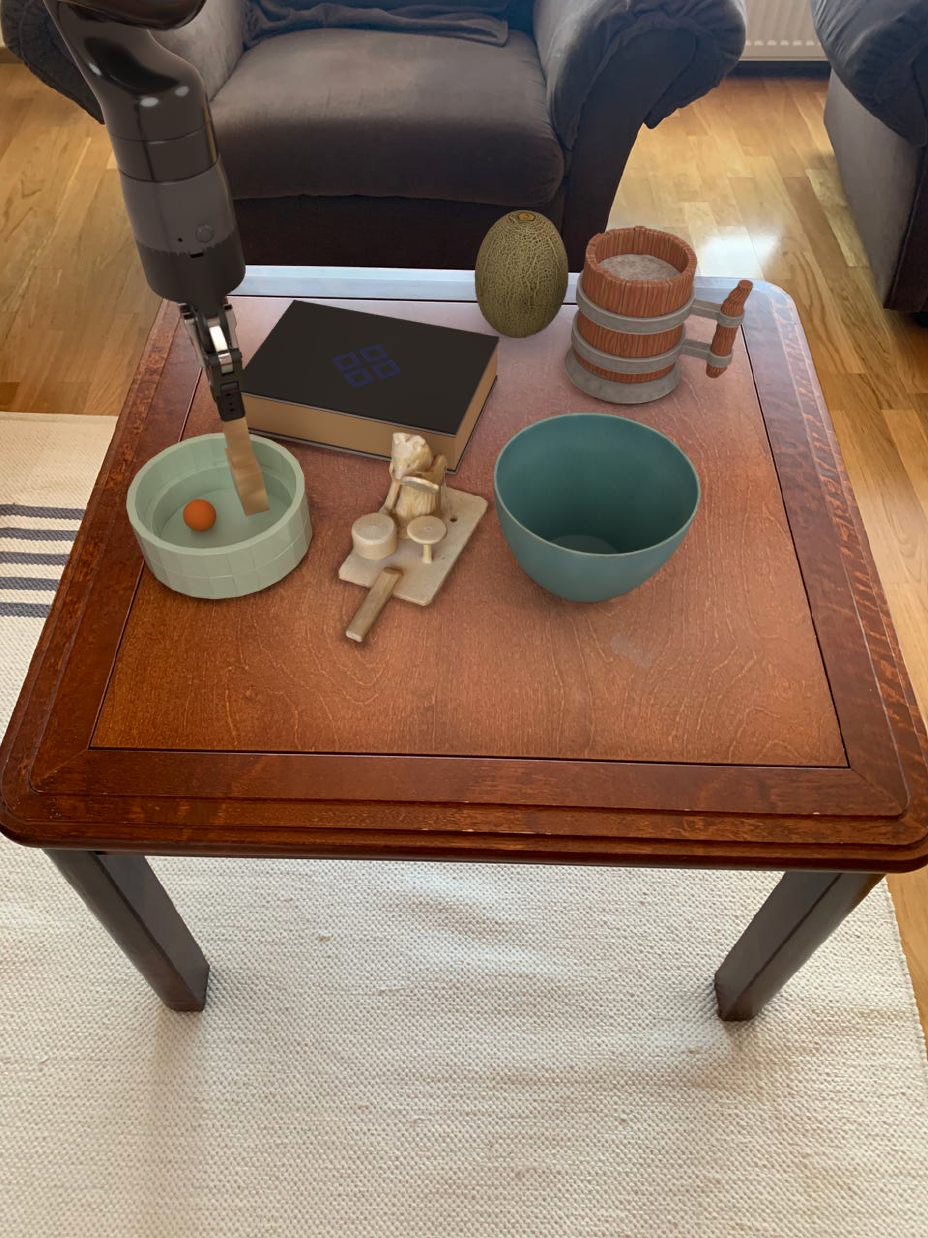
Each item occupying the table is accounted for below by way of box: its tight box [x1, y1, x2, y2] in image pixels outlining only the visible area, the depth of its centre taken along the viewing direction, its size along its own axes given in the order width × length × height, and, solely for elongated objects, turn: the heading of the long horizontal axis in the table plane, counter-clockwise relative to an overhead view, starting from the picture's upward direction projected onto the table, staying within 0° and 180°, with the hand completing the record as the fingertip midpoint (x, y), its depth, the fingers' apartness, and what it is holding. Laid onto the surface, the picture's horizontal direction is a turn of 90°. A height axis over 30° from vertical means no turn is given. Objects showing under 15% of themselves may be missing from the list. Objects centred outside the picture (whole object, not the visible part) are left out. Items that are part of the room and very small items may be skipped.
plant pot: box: [492, 412, 702, 604], centre depth 86 cm, size 18×18×12 cm
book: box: [241, 299, 500, 477], centre depth 103 cm, size 17×25×7 cm
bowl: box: [125, 432, 313, 600], centre depth 90 cm, size 17×17×7 cm
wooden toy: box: [337, 432, 489, 643], centre depth 86 cm, size 22×10×14 cm, turn 155°
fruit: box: [474, 209, 570, 339], centre depth 110 cm, size 11×11×15 cm
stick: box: [219, 416, 270, 516], centre depth 83 cm, size 2×4×16 cm, turn 23°
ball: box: [183, 499, 216, 532], centre depth 91 cm, size 3×3×3 cm
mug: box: [563, 224, 754, 405], centre depth 104 cm, size 14×19×15 cm
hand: (229, 408), depth 81 cm, fingers closed on stick, 2 cm apart
